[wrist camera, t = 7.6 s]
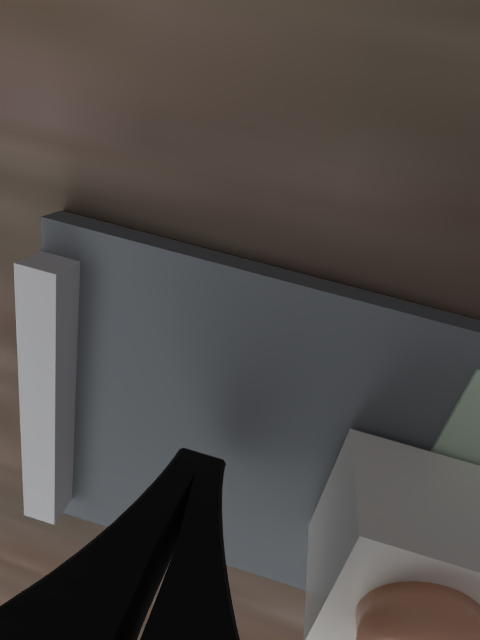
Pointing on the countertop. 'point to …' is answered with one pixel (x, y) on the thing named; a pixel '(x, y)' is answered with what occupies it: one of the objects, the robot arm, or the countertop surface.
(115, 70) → the countertop surface
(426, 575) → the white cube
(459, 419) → the rail mat
